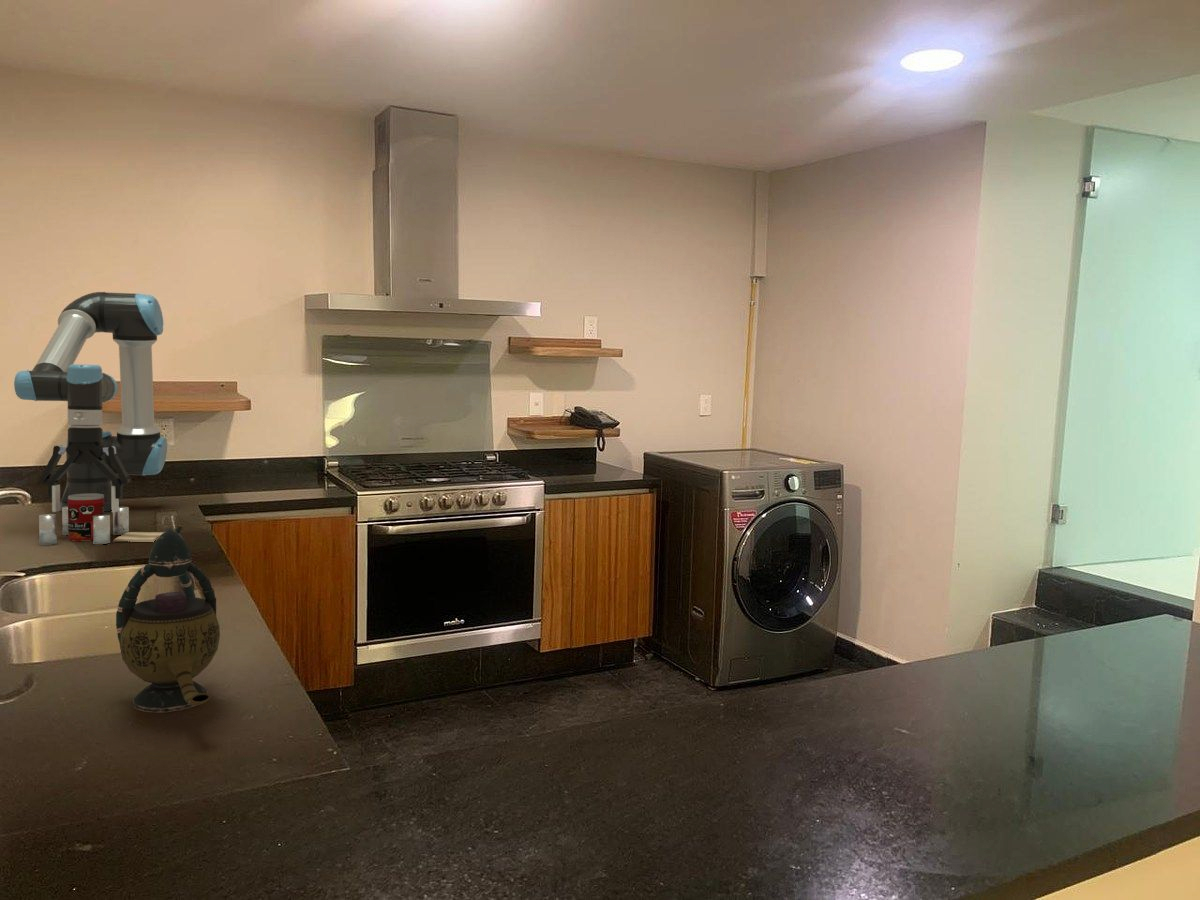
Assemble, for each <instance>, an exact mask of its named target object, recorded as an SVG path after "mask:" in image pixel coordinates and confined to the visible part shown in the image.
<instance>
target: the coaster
mask: <svg viewBox="0 0 1200 900" xmlns="http://www.w3.org/2000/svg"><path fill="white" fill-rule="evenodd" d="M164 532H165V531H162V532H161V531H160V532H159V531H155V532H154V531H151V532H150V531H149V532H148V531H145V532H144V531H129V532H127V533H125V534H123V535H121V536H117V537H116V538H114V539H113V542H114V541H128V542H129V541H130V542H153V543H155V542H156V541H155V540H157V539H158V538H159V537H160V536H161V534H163V533H164ZM154 541H155V542H154Z"/></svg>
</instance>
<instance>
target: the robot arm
mask: <svg viewBox="0 0 1200 900" xmlns="http://www.w3.org/2000/svg"><path fill="white" fill-rule="evenodd" d="M57 324H58V326H57V328H56V330H54V331H55V332H54V333H53V334H52V337H50V340H49V341H48V344H47V345H46V347H45V348H44V350H43V351H42V353H41V355H40V356H39V359H38V360H37V362H36V364H35V365H34V367H33V368H32V370H29V369H27V370H20V371H18V372H17V373H16V375H15V377H14V382H13V387H14V392H15V395H16V397H18V398H19V399H20V400H22V401H23V400H24V401H35V402H44V401H45V402H67V425H68V426H70V427H68V428H67V439H66V446H63V445H61V444H59V445H54V446H53V448H52V449H53V450H52V455H51V457H50V459H49V461H48V462H47V464H46V466H45V468H44V470H43V472H42V474H41V475H40V477H39V479H38V480H39V481H38V482H39V483H43V484H46V485H47V496H48V499H51V511H52V512H51V513H56V512H62V507H67V506H68V496H69V495H74V494H86V493H96V494H103V495H104V511H105V512H111V513H113V512H117V511H119V507H120V506H119V505H120V504H119V502H120V500H121V499H122V498H123V496H124V494H123V488H124V487H123V486H124V485H126V484H128V483H131V481H132V479H131V476H144V477H146V476H151V475H152V476H154V475H158V474H159V473H161V471H162V470H163V468H164V466H165V463H166V459H167V458H166V457H167V455H168V454H167V452H168V440H167V437H165V436H163V435H162V436H161V430H160V428H158V427H157V426H156V425H155V410H154V409H155V407H154V406H155V403H154V383H153V382H154V381H153V380H154V379H153V377H154V376H153V375H154V374H153V352H152V351H153V350H152V349H153V348H152V347H153V346H154V344H155V343H156V342H157V341H158V336H160V335H162V334H163V332H164V318H163V312H162V308H161V305H160V303H159V301H158V300H157V298H156V297H155V296H153V295H151V294H144V293H143V294H142V293H138V292H137V293H129V292H105V291H96V292H90V293H87V294H85V295H83V296H79V297H78V298H76V299H74V300H73V301H71V302H70V303H69V304H68V305H66V307H65V308H63V310H62V311H61V313H60V314H59V316H58V318H57ZM95 333H109V334H111V333H112V340H113V342H115V343H116V344H117V346H118V352H119V353H118V358H119V379H120V381H119V382H120V400H121V401H120V402H121V403H120V404H121V423H122V424H121V426H120V428H118V429H117V430H116V435H115V436H114V435H113V434H112V432H111V431H110V430H107V431H106V430H105V431H103V428H102V427H101V426H102V425H103V423H104V422H103V403H105V402H108V401H110V400H113V399H114V398H115V396H116V394H117V393H118V389H119V387H118V382H117V380H115V378H114V377H113V376H112V375H109V374H107V373H105V372H103V369H102V367H101V366H100V364H82V363H81V364H80V363H77V364H76V363H75V362H76V360H77V358H78V356H79V354H80V352H81V351H82V349H83V347H84V345H85V343H86V342H87V339H90V338H92V337H93V336H94V334H95ZM65 453H66V454H65ZM64 454H65V455H66V456H65V457H66V460H65V462H64V463H63V464H62V465H61V466H60V467H59V469H58V470H57V471H55V470H56V467H57V466H58V464H59V461H60V460H61V458H62V455H64ZM54 471H55V473H54ZM53 473H54V474H53ZM52 474H53V475H52ZM65 474H66V486H65V489H64V492H63V494H62V497H61V484H58V482H59V481H60V480H61V479H62V478H63V477H64V476H65ZM119 499H120V500H119ZM111 510H112V511H111Z"/></svg>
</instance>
